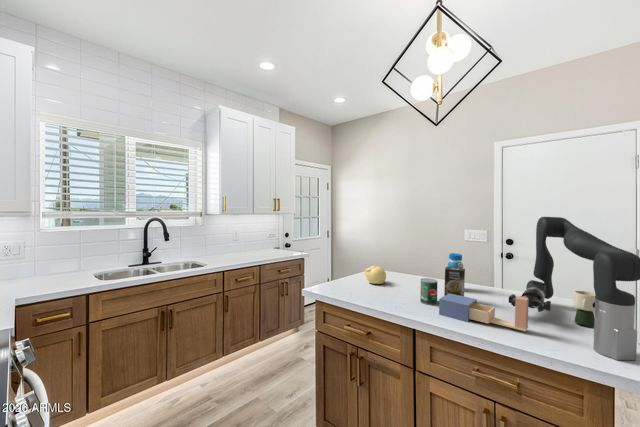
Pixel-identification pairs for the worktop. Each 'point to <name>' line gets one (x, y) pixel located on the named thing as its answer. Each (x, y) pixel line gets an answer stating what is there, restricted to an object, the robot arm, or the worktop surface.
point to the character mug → (584, 307)
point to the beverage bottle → (455, 260)
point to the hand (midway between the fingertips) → (526, 306)
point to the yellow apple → (375, 275)
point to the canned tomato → (428, 291)
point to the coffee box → (454, 281)
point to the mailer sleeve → (456, 306)
